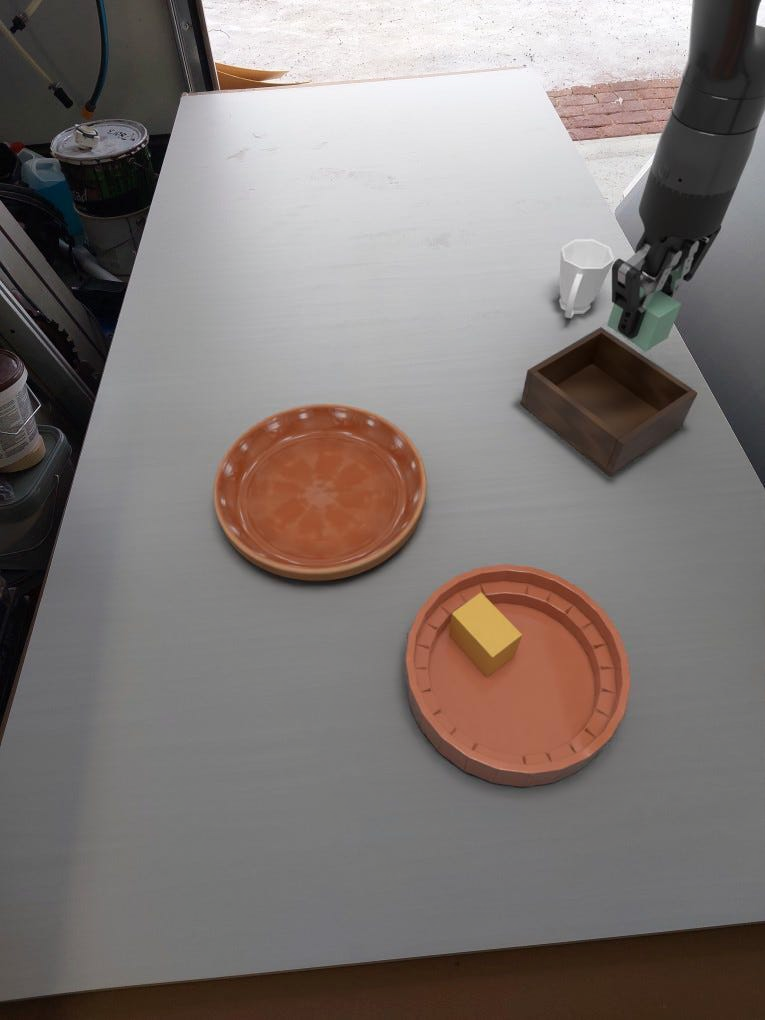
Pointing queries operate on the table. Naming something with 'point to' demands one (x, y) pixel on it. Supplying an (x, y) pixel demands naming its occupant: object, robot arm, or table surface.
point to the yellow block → (484, 634)
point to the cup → (582, 274)
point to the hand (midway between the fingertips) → (639, 325)
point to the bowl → (519, 679)
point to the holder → (606, 399)
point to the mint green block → (651, 320)
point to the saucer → (320, 492)
